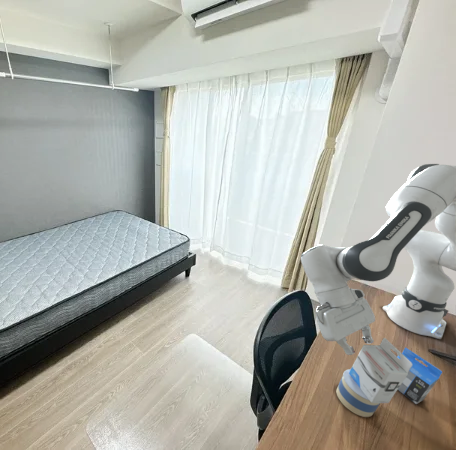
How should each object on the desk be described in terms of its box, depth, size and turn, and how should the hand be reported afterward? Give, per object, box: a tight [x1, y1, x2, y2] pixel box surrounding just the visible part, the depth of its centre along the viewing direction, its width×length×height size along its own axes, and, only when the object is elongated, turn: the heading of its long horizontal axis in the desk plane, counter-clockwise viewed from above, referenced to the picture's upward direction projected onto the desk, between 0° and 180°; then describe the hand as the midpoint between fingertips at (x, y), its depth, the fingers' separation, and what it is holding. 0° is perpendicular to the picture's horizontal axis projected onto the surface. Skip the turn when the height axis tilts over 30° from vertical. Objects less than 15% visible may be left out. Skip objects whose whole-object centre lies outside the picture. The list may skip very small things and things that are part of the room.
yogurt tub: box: [335, 368, 381, 418], centre depth 70 cm, size 9×9×7 cm
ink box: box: [349, 337, 412, 404], centre depth 65 cm, size 9×5×15 cm, turn 0°
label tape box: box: [396, 346, 443, 405], centre depth 73 cm, size 9×4×12 cm, turn 20°
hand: (360, 348), depth 68 cm, fingers open, 8 cm apart
